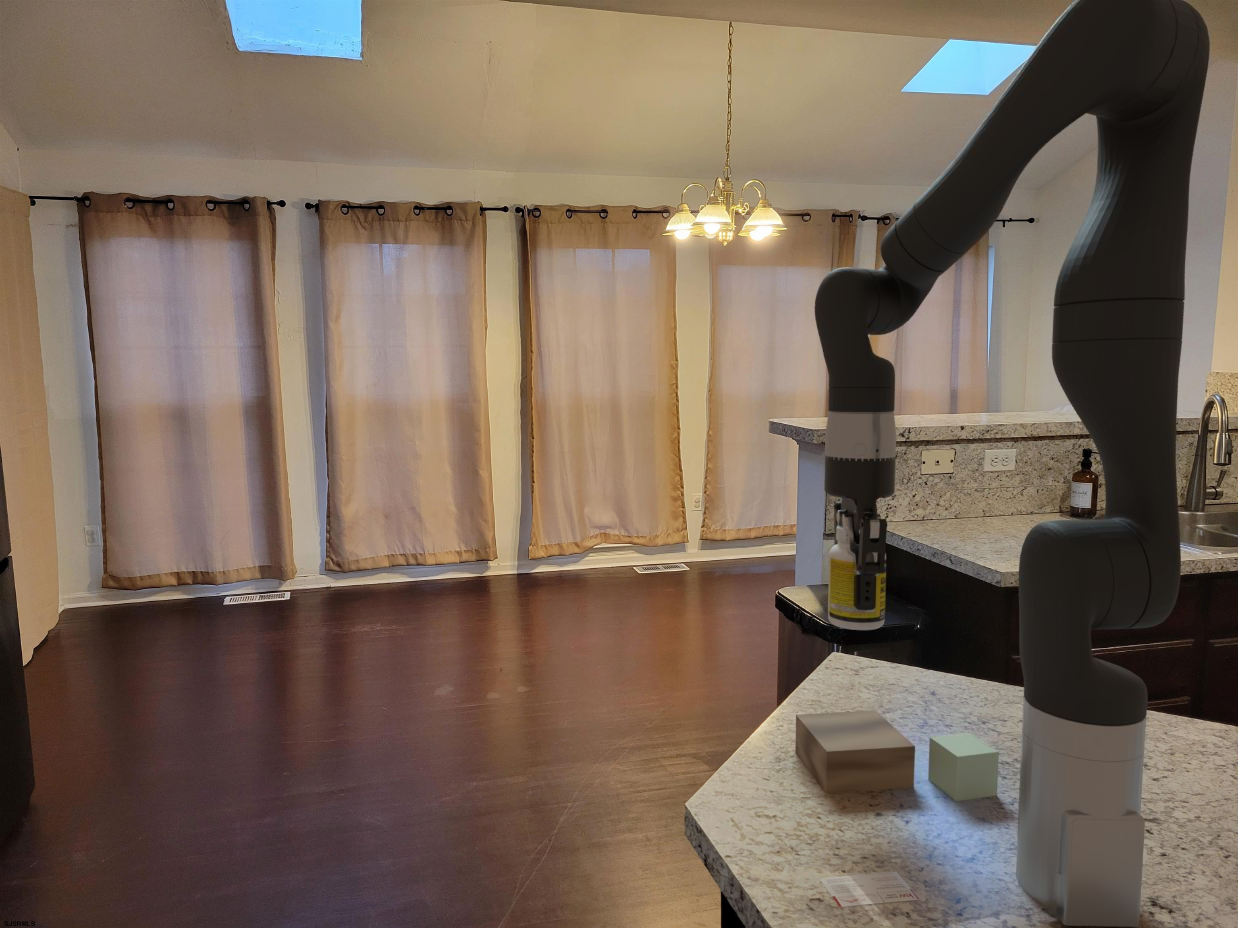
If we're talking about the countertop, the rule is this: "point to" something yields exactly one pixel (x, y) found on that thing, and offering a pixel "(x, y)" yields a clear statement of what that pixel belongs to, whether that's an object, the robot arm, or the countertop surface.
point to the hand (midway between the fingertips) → (856, 600)
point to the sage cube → (963, 766)
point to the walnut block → (854, 751)
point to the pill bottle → (851, 590)
